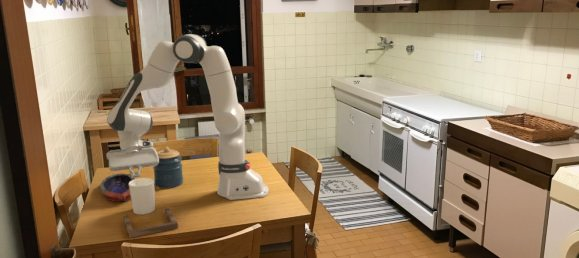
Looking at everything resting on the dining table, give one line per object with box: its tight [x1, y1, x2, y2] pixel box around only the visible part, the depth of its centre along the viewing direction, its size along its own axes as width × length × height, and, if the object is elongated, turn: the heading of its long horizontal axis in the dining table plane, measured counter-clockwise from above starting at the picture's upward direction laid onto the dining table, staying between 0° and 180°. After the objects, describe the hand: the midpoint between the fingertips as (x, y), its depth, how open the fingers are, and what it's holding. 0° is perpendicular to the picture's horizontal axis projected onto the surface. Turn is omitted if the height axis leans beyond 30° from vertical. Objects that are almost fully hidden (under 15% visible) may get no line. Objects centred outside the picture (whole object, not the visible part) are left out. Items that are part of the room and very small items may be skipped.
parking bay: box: [123, 207, 179, 239], centre depth 174 cm, size 16×17×2 cm
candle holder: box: [129, 177, 156, 215], centre depth 186 cm, size 10×10×12 cm
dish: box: [99, 172, 136, 202], centre depth 206 cm, size 16×31×5 cm, turn 20°
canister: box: [152, 146, 184, 189], centre depth 214 cm, size 13×13×18 cm
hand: (136, 176), depth 194 cm, fingers closed
